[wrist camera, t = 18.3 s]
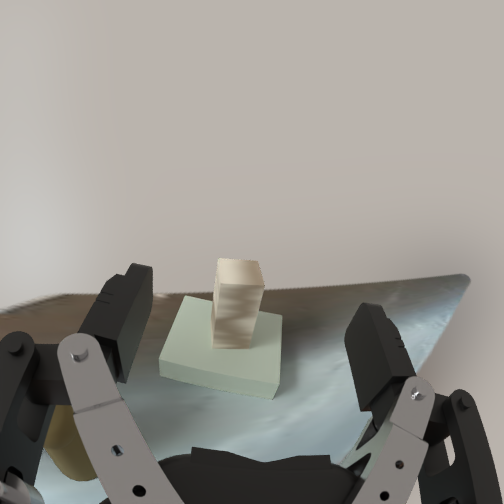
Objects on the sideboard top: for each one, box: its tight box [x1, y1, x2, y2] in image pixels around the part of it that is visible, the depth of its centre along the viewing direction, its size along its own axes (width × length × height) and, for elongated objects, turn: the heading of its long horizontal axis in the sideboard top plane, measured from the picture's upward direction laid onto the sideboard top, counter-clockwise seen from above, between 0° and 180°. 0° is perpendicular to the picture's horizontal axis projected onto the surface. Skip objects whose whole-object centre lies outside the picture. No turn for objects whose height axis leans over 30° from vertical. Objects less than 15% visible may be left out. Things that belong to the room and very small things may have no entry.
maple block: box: [210, 258, 265, 349], centre depth 35 cm, size 4×4×10 cm
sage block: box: [159, 296, 282, 399], centre depth 38 cm, size 14×12×4 cm
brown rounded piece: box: [43, 405, 97, 481], centre depth 19 cm, size 6×6×11 cm
